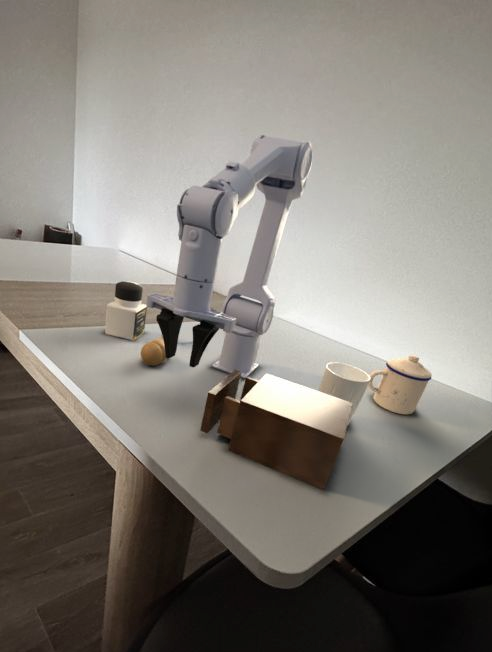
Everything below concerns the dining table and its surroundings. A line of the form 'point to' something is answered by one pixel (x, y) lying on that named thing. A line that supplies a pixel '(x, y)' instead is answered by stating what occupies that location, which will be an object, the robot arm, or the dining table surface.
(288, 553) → the dining table surface
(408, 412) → the teacup with lid
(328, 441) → the cabinet
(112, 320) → the medicine bottle
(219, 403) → the drawer
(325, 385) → the white cup
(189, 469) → the dining table surface
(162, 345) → the bread roll
